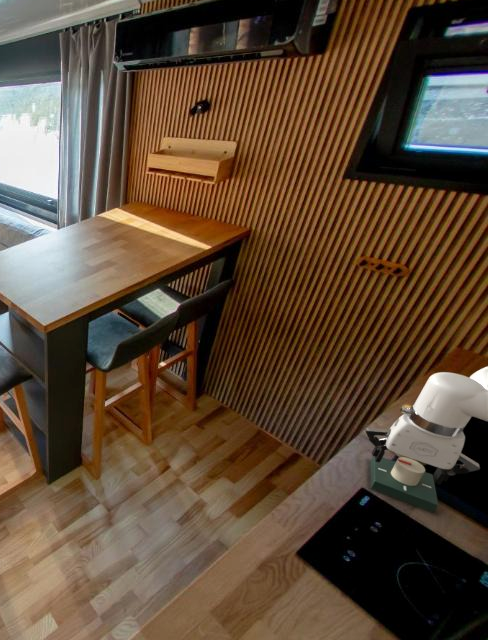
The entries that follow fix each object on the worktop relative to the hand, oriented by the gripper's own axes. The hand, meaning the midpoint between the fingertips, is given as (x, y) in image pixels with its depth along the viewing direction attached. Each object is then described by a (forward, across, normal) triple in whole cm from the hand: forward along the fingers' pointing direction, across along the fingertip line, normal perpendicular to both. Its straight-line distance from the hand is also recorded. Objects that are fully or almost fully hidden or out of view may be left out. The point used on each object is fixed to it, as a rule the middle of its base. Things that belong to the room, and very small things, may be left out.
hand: (405, 468), depth 90 cm
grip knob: (+3, +1, 0) cm, 3 cm away
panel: (+6, +1, 0) cm, 6 cm away
